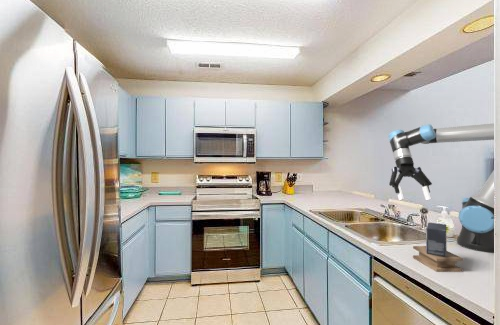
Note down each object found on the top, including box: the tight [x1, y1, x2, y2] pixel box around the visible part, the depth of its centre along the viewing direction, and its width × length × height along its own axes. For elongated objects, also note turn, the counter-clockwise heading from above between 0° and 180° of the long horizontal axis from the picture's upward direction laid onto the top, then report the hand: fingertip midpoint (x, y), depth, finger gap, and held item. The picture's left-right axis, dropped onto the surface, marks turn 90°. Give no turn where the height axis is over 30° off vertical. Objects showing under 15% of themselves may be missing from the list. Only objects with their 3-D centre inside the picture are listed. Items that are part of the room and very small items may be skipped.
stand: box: [412, 245, 464, 273], centre depth 100 cm, size 10×13×5 cm
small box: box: [425, 222, 448, 257], centre depth 100 cm, size 11×6×10 cm, turn 142°
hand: (415, 199), depth 118 cm, fingers open, 13 cm apart
